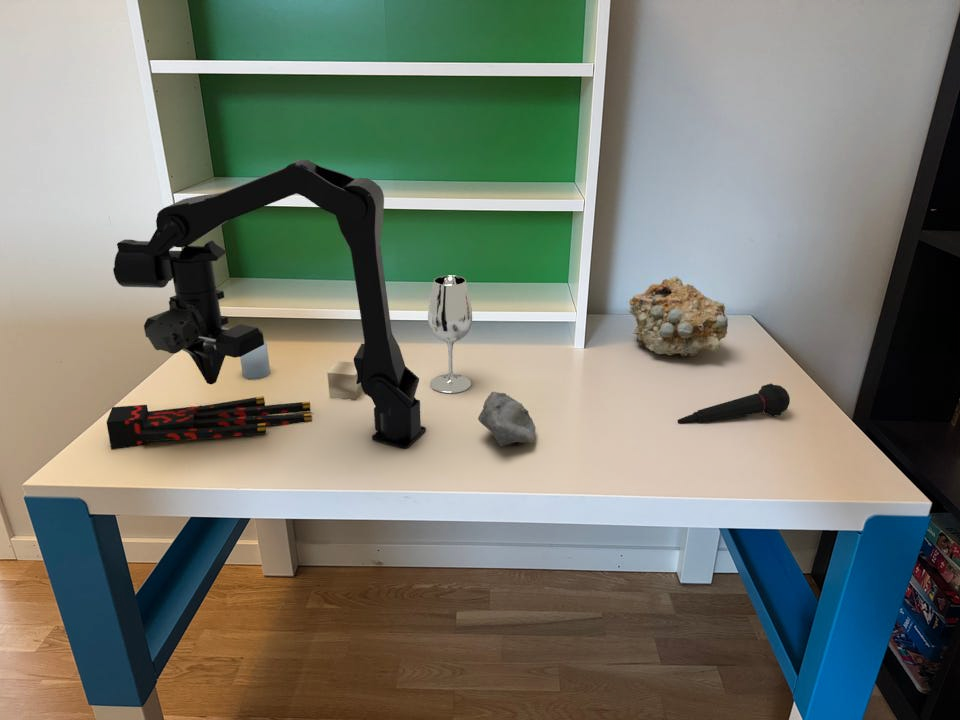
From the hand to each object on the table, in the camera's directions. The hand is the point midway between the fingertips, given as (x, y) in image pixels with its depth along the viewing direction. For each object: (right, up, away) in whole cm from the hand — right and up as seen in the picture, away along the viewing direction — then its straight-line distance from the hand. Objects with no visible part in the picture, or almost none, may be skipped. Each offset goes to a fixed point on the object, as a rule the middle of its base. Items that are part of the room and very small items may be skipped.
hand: (211, 383), depth 108 cm
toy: (-1, -8, +4) cm, 9 cm away
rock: (+82, +6, +36) cm, 90 cm away
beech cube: (+18, -2, +16) cm, 24 cm away
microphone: (+85, -6, +10) cm, 85 cm away
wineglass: (+36, -1, +19) cm, 41 cm away
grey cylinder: (0, +1, +23) cm, 23 cm away
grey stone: (+46, -9, +1) cm, 47 cm away
